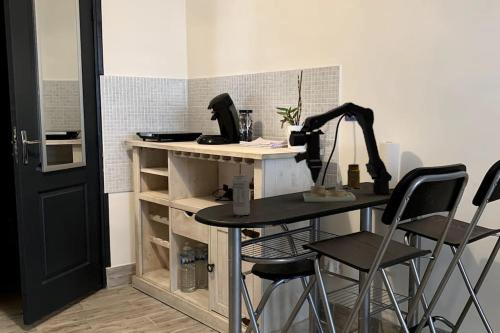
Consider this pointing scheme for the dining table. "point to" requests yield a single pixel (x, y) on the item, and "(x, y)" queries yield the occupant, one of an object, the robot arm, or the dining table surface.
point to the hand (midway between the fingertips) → (314, 181)
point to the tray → (328, 198)
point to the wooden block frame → (326, 192)
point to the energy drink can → (241, 194)
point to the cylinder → (338, 185)
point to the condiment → (353, 175)
